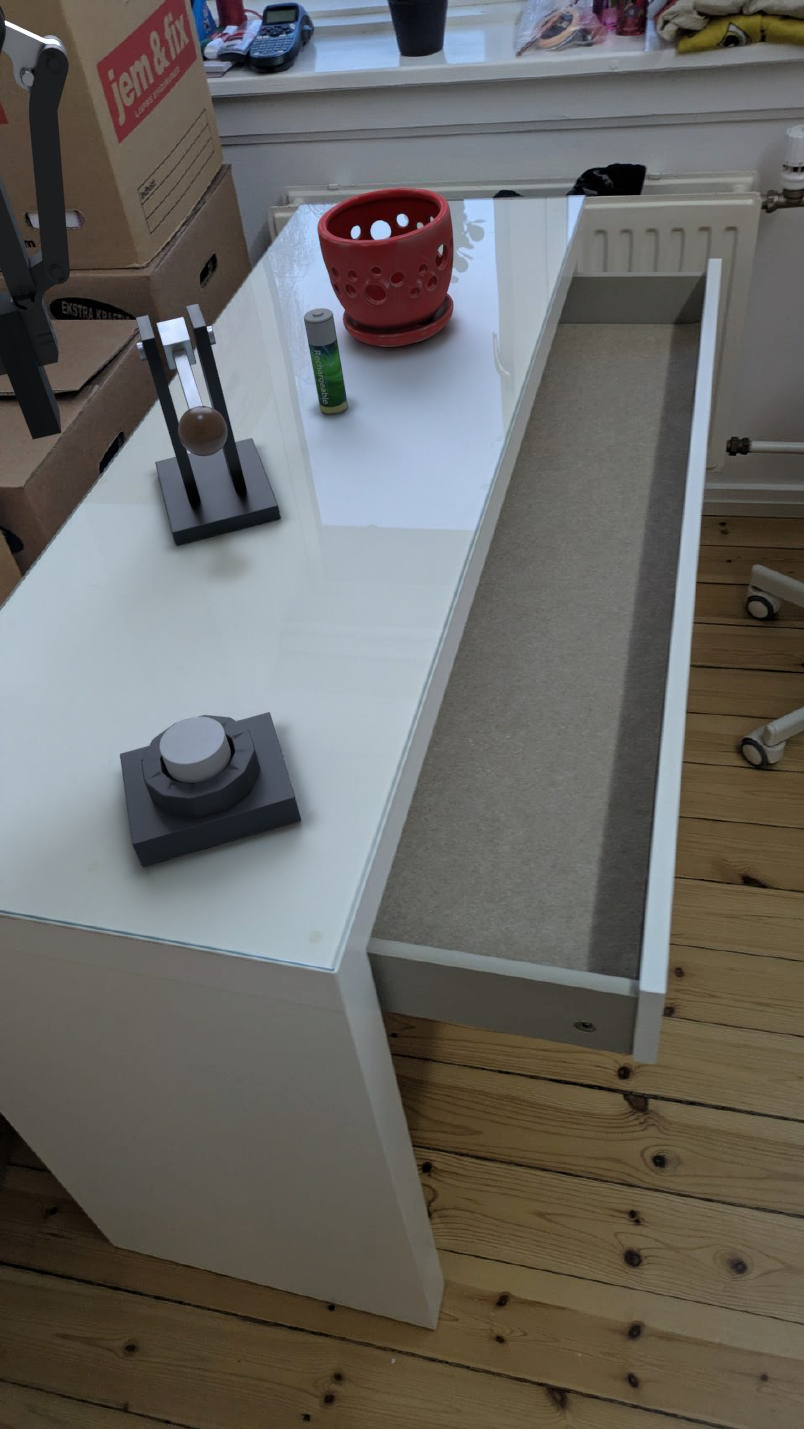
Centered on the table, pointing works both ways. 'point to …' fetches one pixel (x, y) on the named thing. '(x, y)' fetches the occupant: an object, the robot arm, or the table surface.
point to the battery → (326, 360)
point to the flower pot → (390, 265)
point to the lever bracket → (213, 485)
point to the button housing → (208, 794)
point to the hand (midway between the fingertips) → (46, 423)
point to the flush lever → (191, 393)
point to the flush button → (195, 749)
